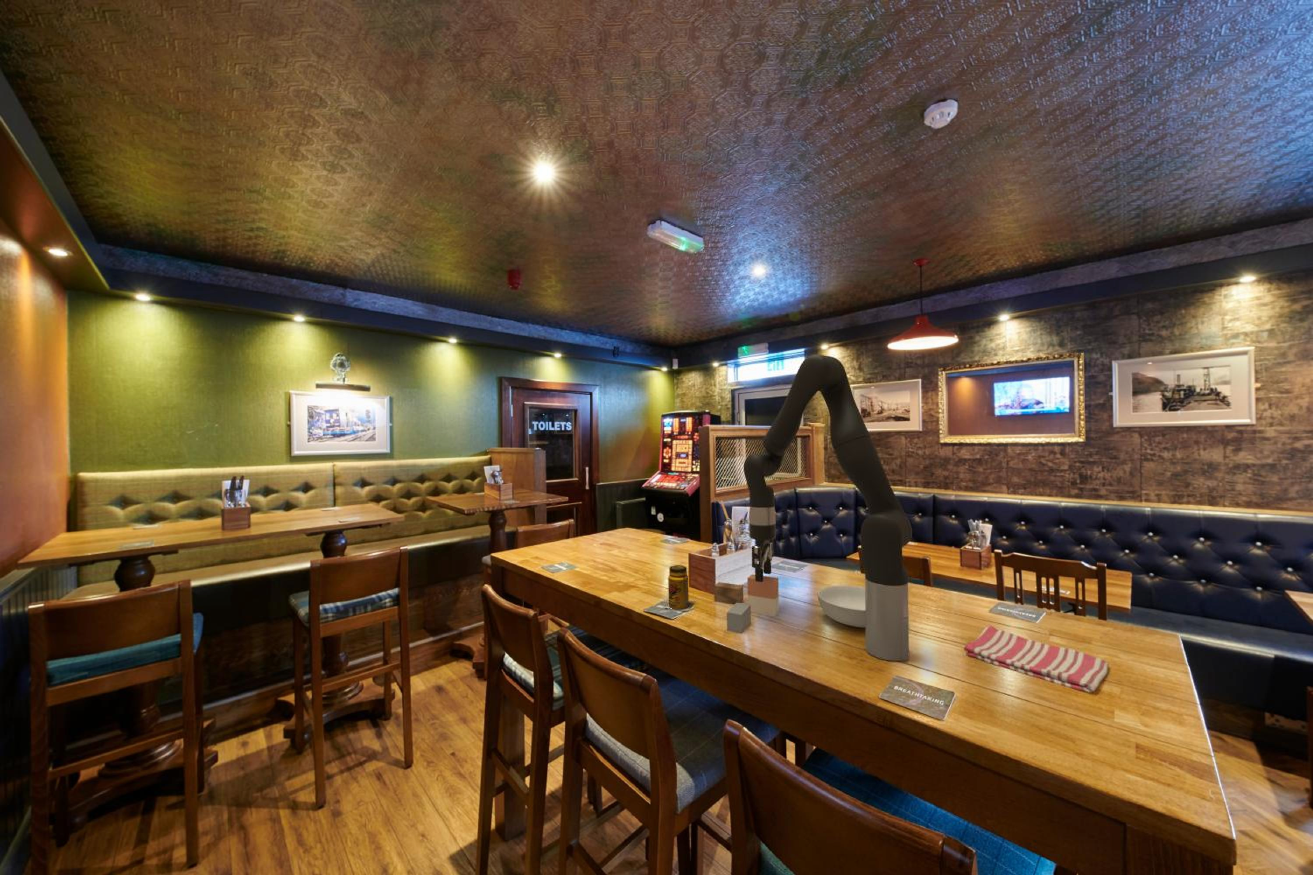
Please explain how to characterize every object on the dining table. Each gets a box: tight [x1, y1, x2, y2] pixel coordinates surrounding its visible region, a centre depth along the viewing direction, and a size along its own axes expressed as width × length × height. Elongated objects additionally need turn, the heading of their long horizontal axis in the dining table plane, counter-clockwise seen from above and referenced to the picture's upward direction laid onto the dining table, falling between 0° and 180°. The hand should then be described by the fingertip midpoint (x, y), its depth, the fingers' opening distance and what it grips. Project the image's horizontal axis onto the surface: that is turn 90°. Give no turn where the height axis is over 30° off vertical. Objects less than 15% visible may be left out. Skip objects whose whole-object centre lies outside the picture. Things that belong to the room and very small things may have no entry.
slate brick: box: [726, 602, 752, 634], centre depth 130 cm, size 8×4×5 cm, turn 152°
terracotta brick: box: [747, 574, 780, 599], centre depth 139 cm, size 8×4×5 cm, turn 61°
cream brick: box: [747, 594, 780, 617], centre depth 140 cm, size 8×4×5 cm, turn 62°
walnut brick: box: [713, 581, 744, 606], centre depth 149 cm, size 8×4×5 cm, turn 62°
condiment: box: [666, 564, 696, 612], centre depth 146 cm, size 7×8×12 cm
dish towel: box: [963, 624, 1110, 694], centre depth 108 cm, size 17×23×4 cm
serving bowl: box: [817, 584, 865, 629], centre depth 132 cm, size 21×21×7 cm
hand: (763, 577), depth 139 cm, fingers open, 8 cm apart
